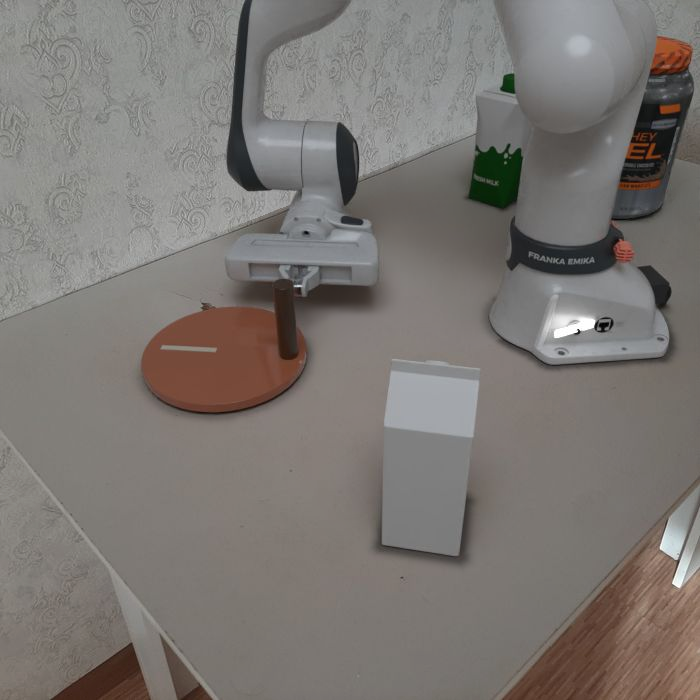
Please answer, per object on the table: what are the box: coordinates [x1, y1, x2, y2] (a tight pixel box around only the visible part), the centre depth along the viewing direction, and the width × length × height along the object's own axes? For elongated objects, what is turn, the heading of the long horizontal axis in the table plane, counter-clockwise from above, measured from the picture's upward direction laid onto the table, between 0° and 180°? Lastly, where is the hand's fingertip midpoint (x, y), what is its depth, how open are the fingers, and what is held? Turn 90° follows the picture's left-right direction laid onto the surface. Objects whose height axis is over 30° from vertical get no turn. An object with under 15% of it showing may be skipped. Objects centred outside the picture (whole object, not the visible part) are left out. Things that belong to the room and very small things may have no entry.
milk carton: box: [381, 358, 482, 557], centre depth 62 cm, size 7×7×19 cm
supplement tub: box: [611, 35, 695, 220], centre depth 116 cm, size 16×16×26 cm
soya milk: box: [468, 72, 534, 209], centre depth 120 cm, size 9×9×20 cm
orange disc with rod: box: [140, 279, 307, 413], centre depth 85 cm, size 20×20×11 cm
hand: (294, 291), depth 88 cm, fingers closed
